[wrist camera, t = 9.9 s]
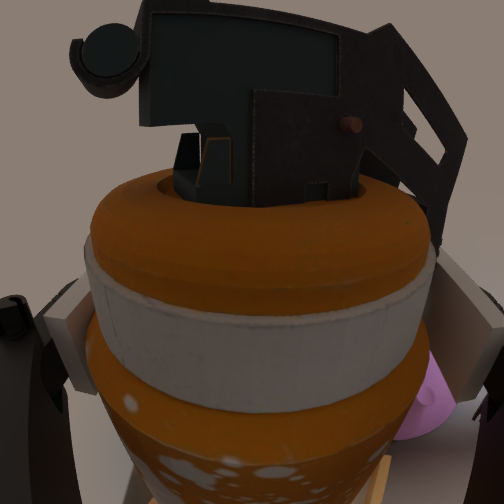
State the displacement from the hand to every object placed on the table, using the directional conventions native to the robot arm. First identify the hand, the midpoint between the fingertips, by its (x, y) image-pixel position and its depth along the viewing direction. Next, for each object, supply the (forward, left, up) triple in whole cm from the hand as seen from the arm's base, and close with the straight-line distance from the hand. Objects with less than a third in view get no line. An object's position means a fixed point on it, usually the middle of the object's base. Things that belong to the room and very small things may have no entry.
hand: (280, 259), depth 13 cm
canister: (+4, +2, -12) cm, 13 cm away
